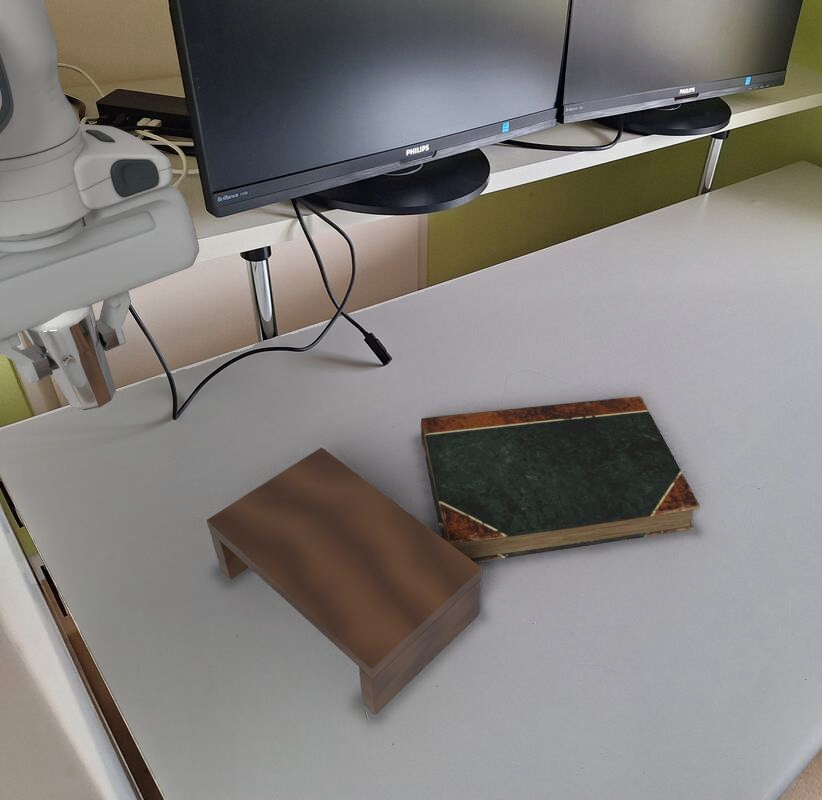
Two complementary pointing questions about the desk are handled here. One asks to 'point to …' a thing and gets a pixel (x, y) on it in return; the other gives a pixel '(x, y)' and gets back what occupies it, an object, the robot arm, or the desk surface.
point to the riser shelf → (352, 569)
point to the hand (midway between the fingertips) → (76, 359)
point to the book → (553, 478)
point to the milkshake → (76, 357)
